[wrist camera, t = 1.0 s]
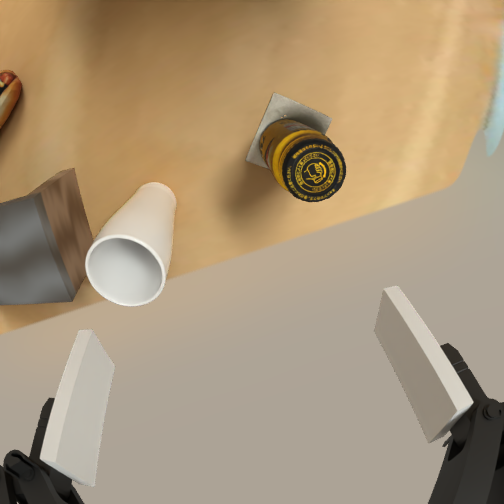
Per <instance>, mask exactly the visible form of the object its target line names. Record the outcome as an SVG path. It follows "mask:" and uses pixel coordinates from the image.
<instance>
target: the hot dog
mask: <svg viewBox="0 0 504 504" xmlns="http://www.w3.org/2000/svg"><path fill="white" fill-rule="evenodd" d="M21 87H22V83H21V81H20V80H19V78H18V77H17V76H16V74H15V73H14V72H13V71H10V70H2V71H0V129H1V127H2V126H3V124H4V123H5V121H6V120H7V118H8V116H9V115H10V113H11V111H12V109H13V107H14V105H15V104H16V102H17V100H18V98H19V95H20V91H21Z"/></svg>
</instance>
